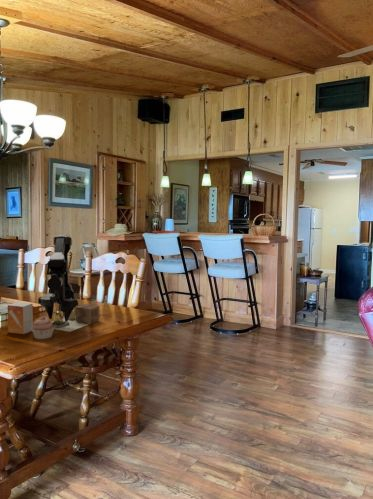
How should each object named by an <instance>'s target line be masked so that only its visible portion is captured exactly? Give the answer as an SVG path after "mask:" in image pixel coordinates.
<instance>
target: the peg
mask: <svg viewBox="0 0 373 499" xmlns="http://www.w3.org/2000/svg"><path fill="white" fill-rule="evenodd" d="M63 318H64V312H63V311H59V310H53V321H54V325H58V326H59V325H62V324H63Z"/></svg>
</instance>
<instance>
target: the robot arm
mask: <svg viewBox="0 0 373 499" xmlns="http://www.w3.org/2000/svg"><path fill="white" fill-rule="evenodd" d="M72 238H73V237H70V236H67V235H55V236H54V237H53V246H54V248H53V249H54V250H53V253H52V255H51V254H50V257H49V259H48V260H47V267H46V275H47V276H49V275H50V278H49V279H48V280H47V283H46V285H47V288H48V290H47V291H48V292H47V293H45V294H43V296H40V297H39V298H38V299H37V303H38V305H40V306H42V307H43V308H44V309H45V311H46V313H47V317H48V319H49V320H52V318H53V317H54V306H55V304H58V311H63V317H64V318H65V322H67V321H68V319H69V317H70V314H71V312H72V310H74V309H75V308H76V307H78V306H79V300H78V299H76V295H75V292H74V289H73V286H72V284H71V283H70V281H69V252H70V250H71V249H72V246H73V239H72Z"/></svg>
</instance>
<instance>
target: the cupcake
mask: <svg viewBox="0 0 373 499" xmlns="http://www.w3.org/2000/svg"><path fill="white" fill-rule="evenodd" d="M52 322H53V321H51V319H49V317H48V316H46V315H41V316H40V317H39V318H38V319H37V320H35V321H34V322H33V327H32V329H31V330H32V331H31V332H32V334H33V336H34V339H36V340H47V339H49V338H52V337H53V333H54V330H55V329H54V328H55V327H54V326H53V325H52Z"/></svg>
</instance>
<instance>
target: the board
mask: <svg viewBox="0 0 373 499" xmlns="http://www.w3.org/2000/svg"><path fill="white" fill-rule="evenodd" d="M51 322H52V325H53V326H54V327H55V328H54V330H58V331H62V332H67V333H68V332H69V333H71V332H73V331H75V330H79V329H80V328H84V327H87V326H88V325H91V324H93V323H96V322H98V321H96V322H93V323H91V324H87V323H81V322H76V309H75V310H74V309H73V310H72V312H71V314H70V317H69V319H68V321H67V322H65V317H63V324H62V325H59V326H58V325H54V320H53V321H51Z"/></svg>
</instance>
